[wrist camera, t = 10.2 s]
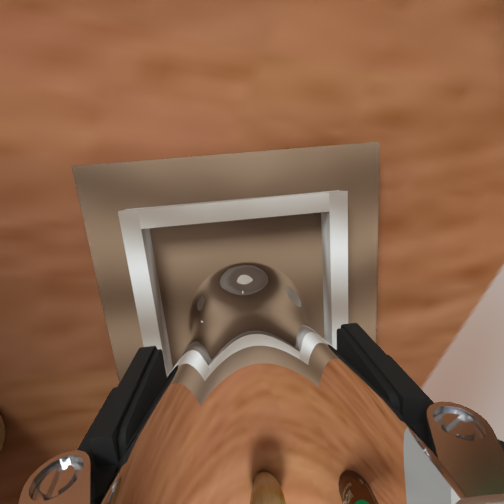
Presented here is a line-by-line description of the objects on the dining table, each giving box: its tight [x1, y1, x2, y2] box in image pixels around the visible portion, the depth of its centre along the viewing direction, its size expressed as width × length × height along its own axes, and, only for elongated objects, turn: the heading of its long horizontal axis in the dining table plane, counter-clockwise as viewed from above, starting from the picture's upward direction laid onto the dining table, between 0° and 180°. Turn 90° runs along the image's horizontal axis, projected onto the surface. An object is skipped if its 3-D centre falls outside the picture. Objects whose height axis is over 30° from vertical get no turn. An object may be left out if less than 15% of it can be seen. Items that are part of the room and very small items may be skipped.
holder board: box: [72, 142, 380, 382], centre depth 18 cm, size 17×17×3 cm
